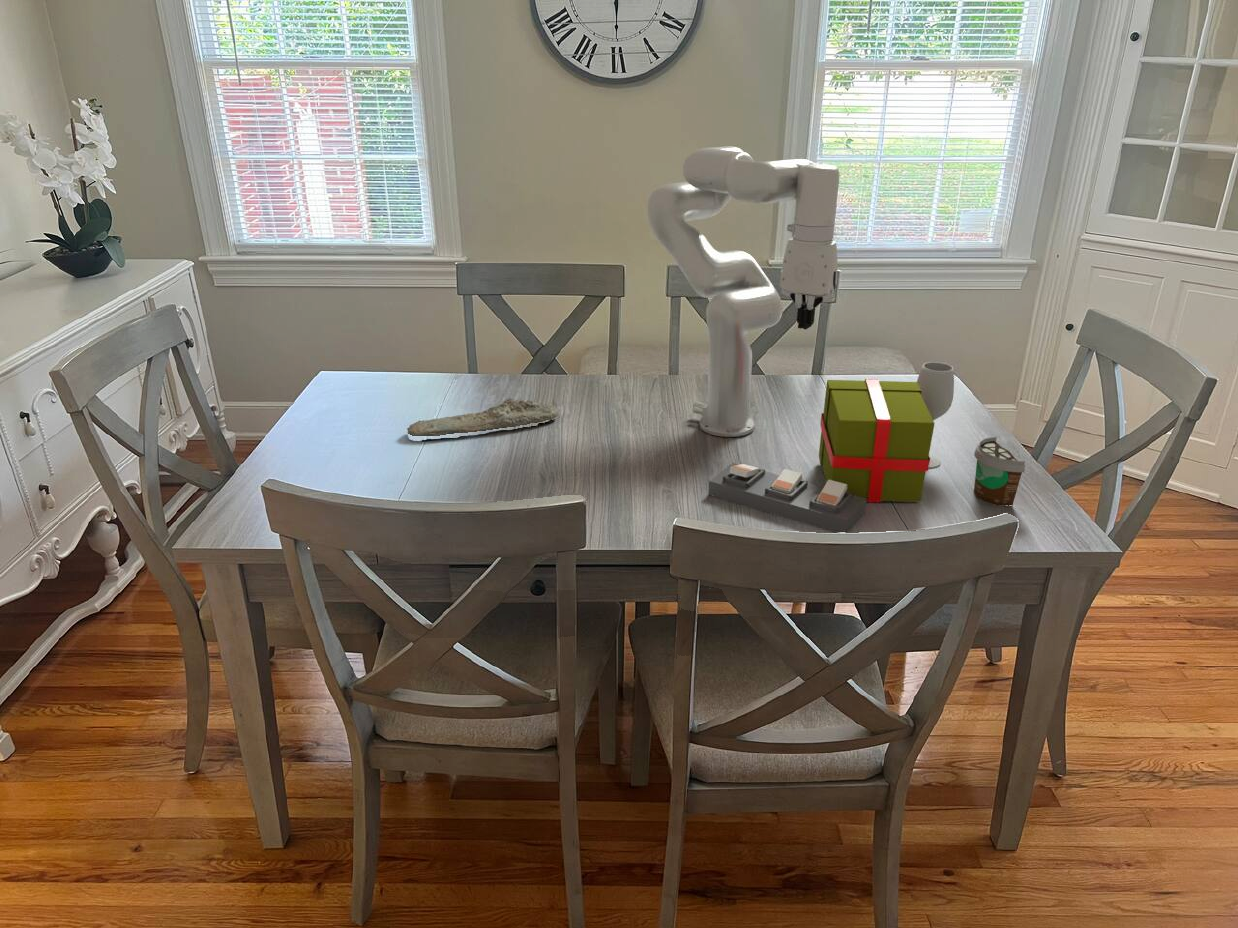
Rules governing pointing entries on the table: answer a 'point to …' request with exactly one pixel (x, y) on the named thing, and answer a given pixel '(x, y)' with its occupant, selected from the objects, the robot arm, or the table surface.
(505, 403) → the elongated rock
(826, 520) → the power strip
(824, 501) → the rocker
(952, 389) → the wineglass
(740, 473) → the rocker
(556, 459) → the table surface
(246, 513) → the table surface
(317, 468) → the table surface
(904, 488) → the gift box
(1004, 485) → the food container
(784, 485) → the rocker
